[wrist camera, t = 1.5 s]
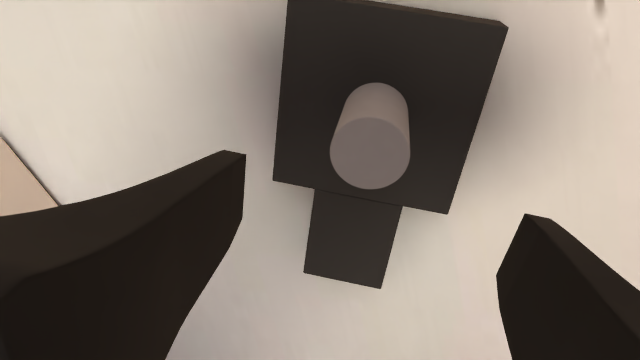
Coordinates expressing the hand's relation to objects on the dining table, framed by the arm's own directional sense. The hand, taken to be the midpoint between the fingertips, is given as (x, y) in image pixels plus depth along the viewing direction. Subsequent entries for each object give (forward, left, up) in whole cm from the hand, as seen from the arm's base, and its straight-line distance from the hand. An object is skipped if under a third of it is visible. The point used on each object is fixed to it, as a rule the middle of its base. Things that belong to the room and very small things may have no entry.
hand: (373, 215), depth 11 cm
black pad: (0, -2, -9) cm, 9 cm away
